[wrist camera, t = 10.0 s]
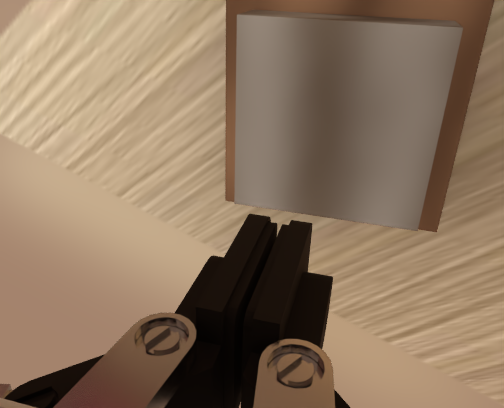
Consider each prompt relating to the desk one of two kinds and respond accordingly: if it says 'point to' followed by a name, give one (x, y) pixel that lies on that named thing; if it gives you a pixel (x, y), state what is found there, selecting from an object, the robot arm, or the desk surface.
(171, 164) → the desk surface
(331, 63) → the tower pedestal
